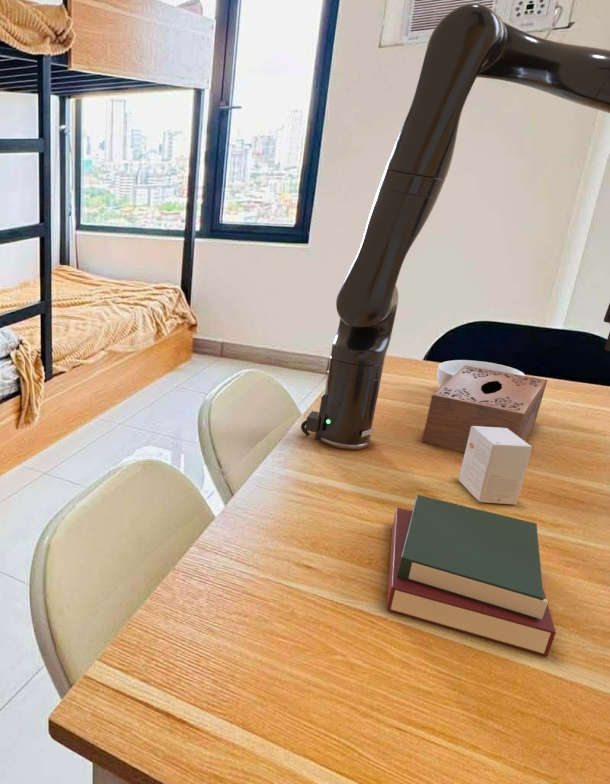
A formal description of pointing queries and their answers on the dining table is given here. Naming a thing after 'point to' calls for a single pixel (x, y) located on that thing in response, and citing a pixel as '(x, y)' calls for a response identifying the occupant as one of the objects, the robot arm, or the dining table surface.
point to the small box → (494, 464)
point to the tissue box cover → (482, 406)
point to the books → (470, 573)
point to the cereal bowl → (452, 367)
